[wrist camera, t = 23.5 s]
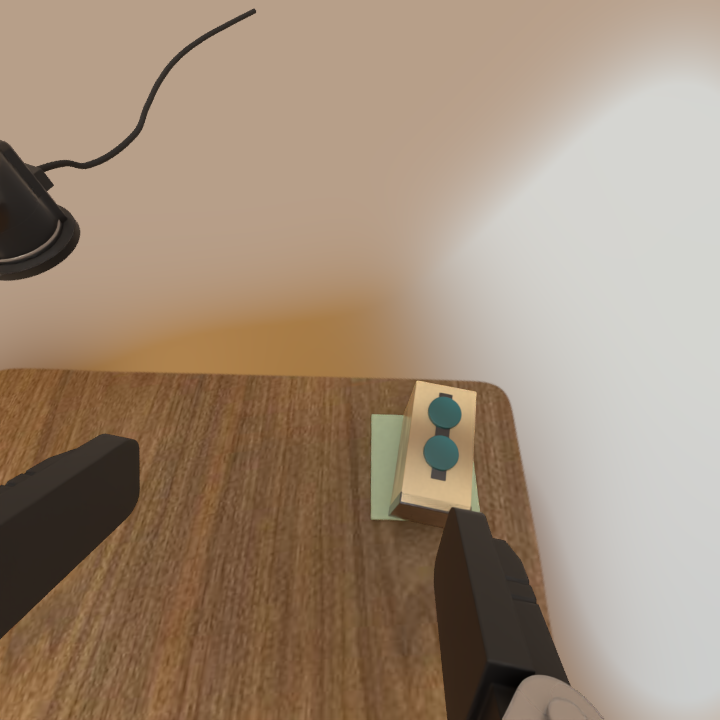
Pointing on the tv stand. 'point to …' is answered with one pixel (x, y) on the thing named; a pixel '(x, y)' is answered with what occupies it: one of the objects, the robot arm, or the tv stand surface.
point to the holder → (434, 454)
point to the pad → (391, 465)
